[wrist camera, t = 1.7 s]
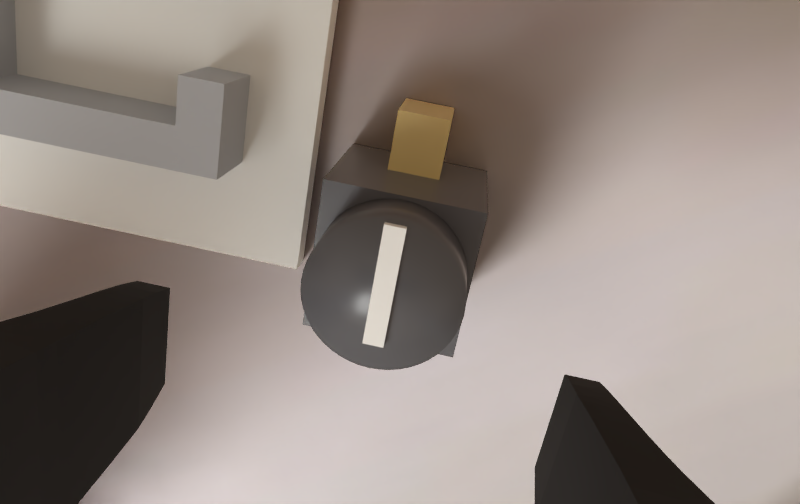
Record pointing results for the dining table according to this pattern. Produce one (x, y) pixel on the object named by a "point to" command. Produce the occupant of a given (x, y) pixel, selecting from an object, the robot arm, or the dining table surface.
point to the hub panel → (167, 117)
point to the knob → (396, 246)
